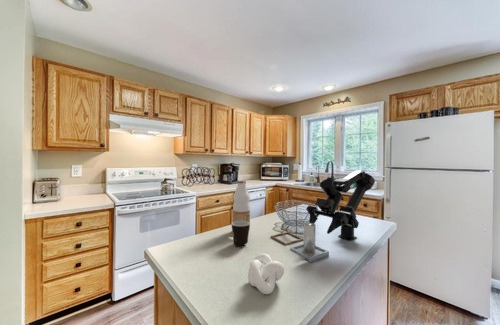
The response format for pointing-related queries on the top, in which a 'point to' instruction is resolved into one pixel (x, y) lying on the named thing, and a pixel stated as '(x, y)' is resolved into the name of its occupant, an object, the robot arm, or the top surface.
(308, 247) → the scoop cup
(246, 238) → the coffee mug
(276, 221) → the top surface
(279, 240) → the walnut tray
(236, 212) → the fruit juice
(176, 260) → the top surface
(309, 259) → the grey tray
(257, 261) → the white knot sculpture
